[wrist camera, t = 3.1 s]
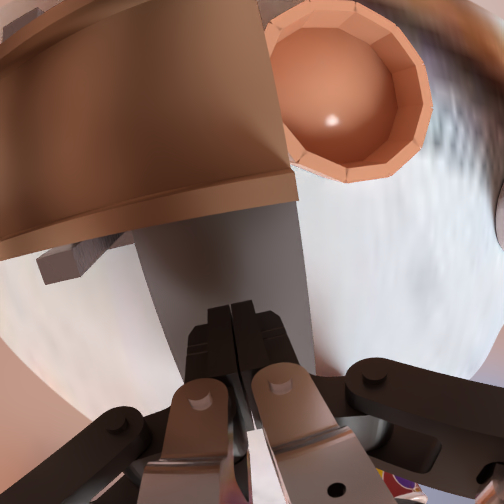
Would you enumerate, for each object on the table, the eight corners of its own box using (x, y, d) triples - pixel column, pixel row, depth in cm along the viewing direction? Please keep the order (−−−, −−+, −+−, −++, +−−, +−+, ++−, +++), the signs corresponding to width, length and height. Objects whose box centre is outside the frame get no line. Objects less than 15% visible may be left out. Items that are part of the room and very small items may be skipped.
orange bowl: (383, 24, 16) (409, 9, 13) (410, 165, 20) (440, 170, 16) (232, 25, 16) (236, 2, 12) (263, 188, 19) (274, 195, 16)
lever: (251, -7, 10) (240, -75, 5) (309, 337, 16) (322, 416, 10) (-39, 128, 12) (-97, 138, 7) (28, 351, 18) (-11, 394, 13)
